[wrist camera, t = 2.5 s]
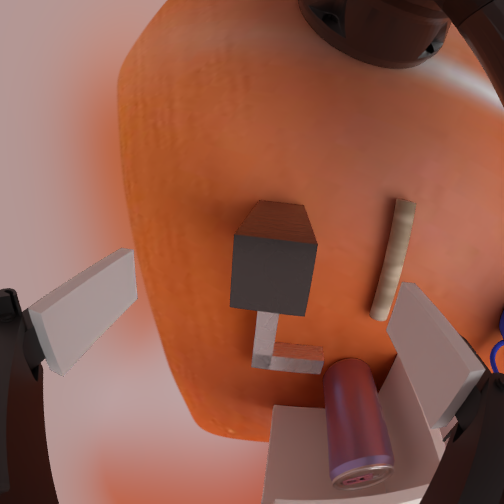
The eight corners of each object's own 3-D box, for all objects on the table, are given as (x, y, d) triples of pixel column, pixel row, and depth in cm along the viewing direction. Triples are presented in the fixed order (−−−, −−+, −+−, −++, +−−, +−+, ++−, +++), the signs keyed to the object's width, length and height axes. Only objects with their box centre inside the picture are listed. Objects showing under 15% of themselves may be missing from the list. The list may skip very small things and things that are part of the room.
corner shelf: (286, 346, 29) (273, 512, 11) (405, 353, 28) (458, 485, 10) (272, 409, 33) (256, 535, 15) (374, 413, 32) (394, 526, 14)
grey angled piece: (259, 200, 24) (234, 234, 13) (352, 212, 24) (401, 255, 12) (245, 351, 30) (224, 436, 19) (318, 359, 29) (325, 445, 18)
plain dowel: (392, 197, 22) (407, 202, 21) (405, 199, 23) (420, 204, 21) (365, 312, 26) (377, 322, 25) (378, 309, 27) (390, 319, 25)
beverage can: (317, 363, 29) (324, 476, 15) (366, 349, 28) (397, 458, 14) (327, 394, 31) (334, 495, 17) (371, 382, 30) (395, 480, 16)
